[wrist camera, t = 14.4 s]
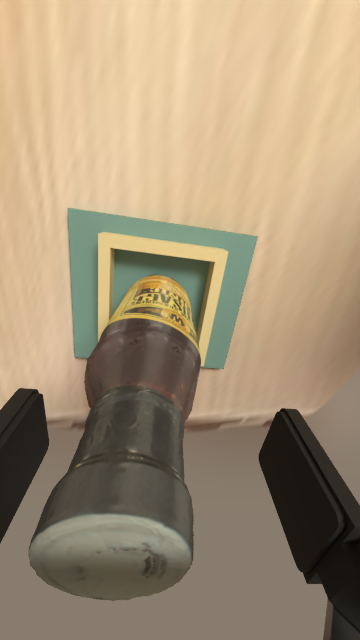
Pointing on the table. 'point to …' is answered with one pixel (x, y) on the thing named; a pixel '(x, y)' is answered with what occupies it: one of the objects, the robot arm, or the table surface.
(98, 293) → the teal board with frame
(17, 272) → the table surface
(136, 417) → the sauce bottle
